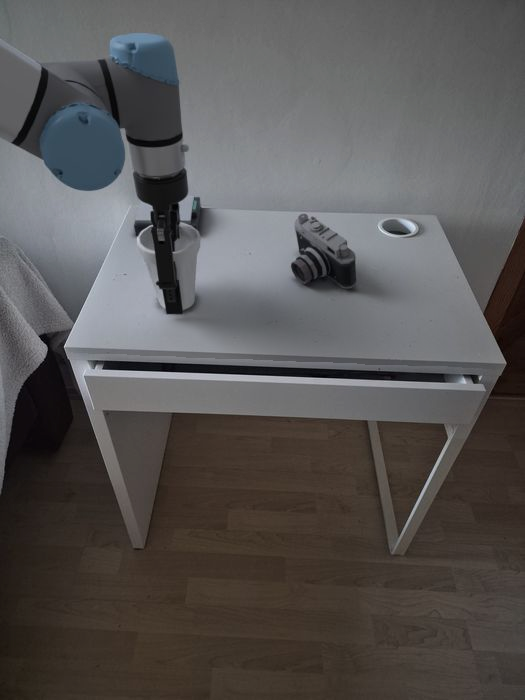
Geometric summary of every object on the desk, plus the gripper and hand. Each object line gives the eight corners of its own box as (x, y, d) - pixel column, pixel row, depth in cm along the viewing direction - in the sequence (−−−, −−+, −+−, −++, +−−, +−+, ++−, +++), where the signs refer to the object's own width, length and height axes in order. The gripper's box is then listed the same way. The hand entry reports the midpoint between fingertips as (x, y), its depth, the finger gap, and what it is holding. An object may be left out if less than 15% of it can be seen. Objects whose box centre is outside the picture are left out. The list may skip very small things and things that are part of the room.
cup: (214, 310, 78) (209, 245, 69) (158, 326, 75) (146, 260, 65) (194, 279, 84) (188, 216, 75) (142, 292, 81) (129, 228, 72)
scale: (135, 235, 95) (132, 219, 92) (144, 206, 104) (142, 190, 101) (197, 236, 95) (195, 219, 93) (200, 207, 104) (199, 191, 102)
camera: (275, 266, 91) (266, 227, 83) (308, 245, 92) (302, 205, 85) (324, 308, 82) (319, 269, 74) (360, 283, 83) (358, 242, 76)
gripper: (180, 204, 55) (195, 336, 71) (190, 141, 70) (200, 262, 86) (119, 204, 55) (147, 337, 71) (142, 140, 70) (161, 262, 86)
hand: (176, 296), depth 79 cm, fingers closed on cup, 8 cm apart
